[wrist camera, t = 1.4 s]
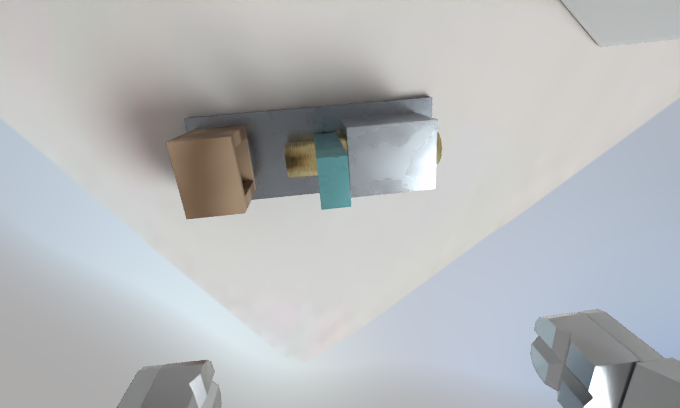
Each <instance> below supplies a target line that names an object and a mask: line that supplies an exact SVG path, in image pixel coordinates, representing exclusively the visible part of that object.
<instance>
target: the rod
mask: <svg viewBox="0 0 680 408" xmlns="http://www.w3.org/2000/svg"><path fill="white" fill-rule="evenodd" d="M441 151H442V146H441V139H440V135H439V133H438V131H437V153H436V164H438V163H439V161H440V158H441ZM285 161H286V168H287V174H288V178H300V177H310V176H318V180H319V190H320V199H321V208H322V210H323V209H332V208H342V207H351V196H350V181H349V166H348V154H347V140H346V138H339V137H338V135H337V133H336V132H332V133H321V134H314V141H305V142H295V143H285Z"/></svg>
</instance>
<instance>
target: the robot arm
mask: <svg viewBox="0 0 680 408" xmlns="http://www.w3.org/2000/svg"><path fill="white" fill-rule="evenodd" d="M534 330H535V332H536V333H537V334H538V337H537V338H536V340H535V341H534V342H533V343H532V346H531V359H532V362H533V366H534V368H535V370H536V372H537V374H538V375H539V377H540V378H541V379H542V381H543V382H544V383H545V384H546V385H548V386H549V387H551V388H553V389H555V390H556V391H557V396H558V402H559V403H560V404H561V405H562V407H563V408H680V361H679V360H676V359H674V358H664V357H663V356H662V355H660V354H659V353H658V352H656V351H655V350H654V349H653V348H651V347H650V346H649V345H647V344H646V343H645V342H644V341H642V340H641V339H639V338H638V337H637V336H636V335H635V334H633V333H632V332H631V331H629V330H628V329H627V328H626V327H624V326H623V325H622V324H620V323H619V322H618V321H617V320H615V319H614V318H613V317H611V316H610V315H609V314H607V313H606V312H604V311H602V310H599V309H595V310H589V311H581V312H577V313H575V312H574V313H567V314H560V315H553V316H546V317H539V318H538V320H537V321H536V323H535V328H534ZM214 372H215V371H214V368H213V365H212V362H211V361H209V360H201V361H191V362H182V363H173V364H165V365H157V366H146V367H143V368H142V369H141V370H139V371H138V372H137V374H136V375H135V377H134V379H133V380H132V382H131V384H130V386H129V387H128V389H127V391H126V392H125V394H124V396H123V398H122V399H121V401H120V403H119V404H118V406H117V408H221V393H220V389H219V385H217V384H216V383H215V382H213V381H212V378H213V375H214Z"/></svg>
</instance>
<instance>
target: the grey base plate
mask: <svg viewBox="0 0 680 408" xmlns="http://www.w3.org/2000/svg"><path fill="white" fill-rule="evenodd" d="M184 120H185V124H186V129H187V132H190V131H192V130H198V129H209V128H221V127H232V126H243V125H245V131H246V136H247V142H248V147H249V153H250V159H251V164H252V170H253V175H254V181H255V187H256V190H255V193H254V195H253V197H252V199H251V200H254V199H264V198H274V197H283V196H293V195H303V194H313V193H320V190H319V180H318V176H310V177H300V178H288V174H287V168H286V161H285V143H295V142H305V141H314V134H321V133H332V132H336V133H337V135H338V137H339V138H346V140H347V154H348V166H349V181H350V195H351V198H352V197H361V196H371V195H381V194H391V193H400V192H410V191H420V190H429V189H435V184H436V153H437V122H438V120H437V119H434V118H432V97H424V98H412V99H401V100H389V101H378V102H366V103H354V104H343V105H331V106H320V107H308V108H297V109H285V110H274V111H262V112H250V113H239V114H227V115H216V116H204V117H193V118H185V119H184Z"/></svg>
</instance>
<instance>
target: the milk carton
mask: <svg viewBox="0 0 680 408" xmlns="http://www.w3.org/2000/svg"><path fill="white" fill-rule="evenodd" d="M561 1H562V3H563V4H564V5H565V6H566V7H567V9H568V10H569V11H570V12H571V13H572V14H573V16H574V17H575V18H576V19H577V20H578V22H579V23H580V24H581V25H582V26H583V27H584V29H585V30H586V31H587V32H588V33H589V35H590V36H591V37H592V38H593V39H594V40H595V42H596V43H597V44H598V45H599V46H600V47H608V46H618V45H628V44H638V43H648V42H658V41H668V40H678V39H680V0H561Z"/></svg>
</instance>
